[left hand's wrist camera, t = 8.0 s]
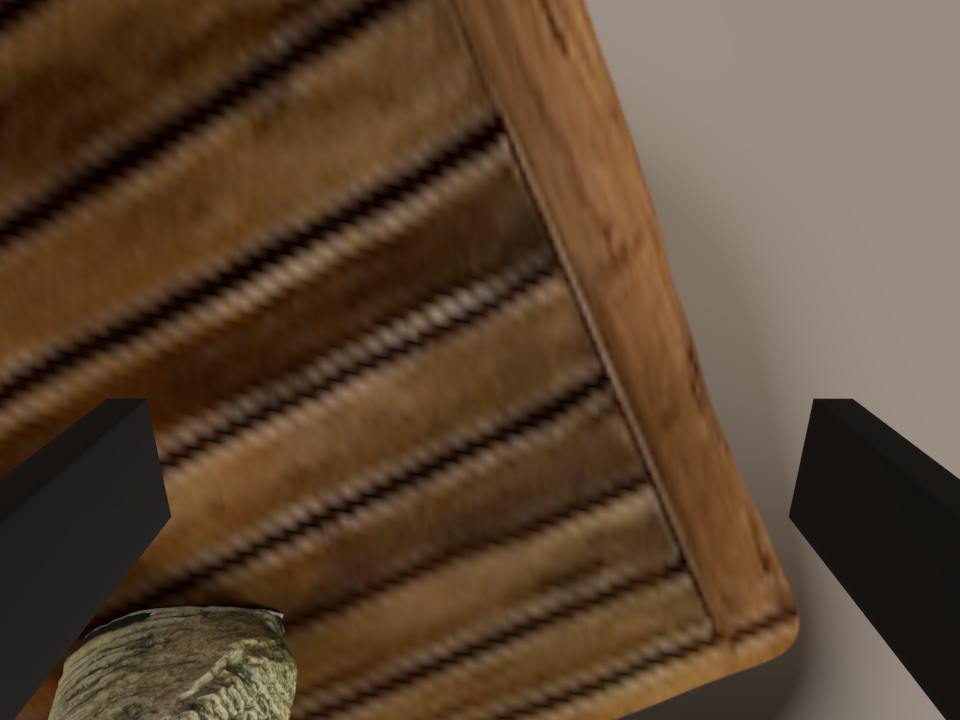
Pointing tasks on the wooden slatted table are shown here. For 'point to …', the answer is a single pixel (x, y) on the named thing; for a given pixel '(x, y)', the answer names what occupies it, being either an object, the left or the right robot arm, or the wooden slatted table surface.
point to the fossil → (181, 668)
